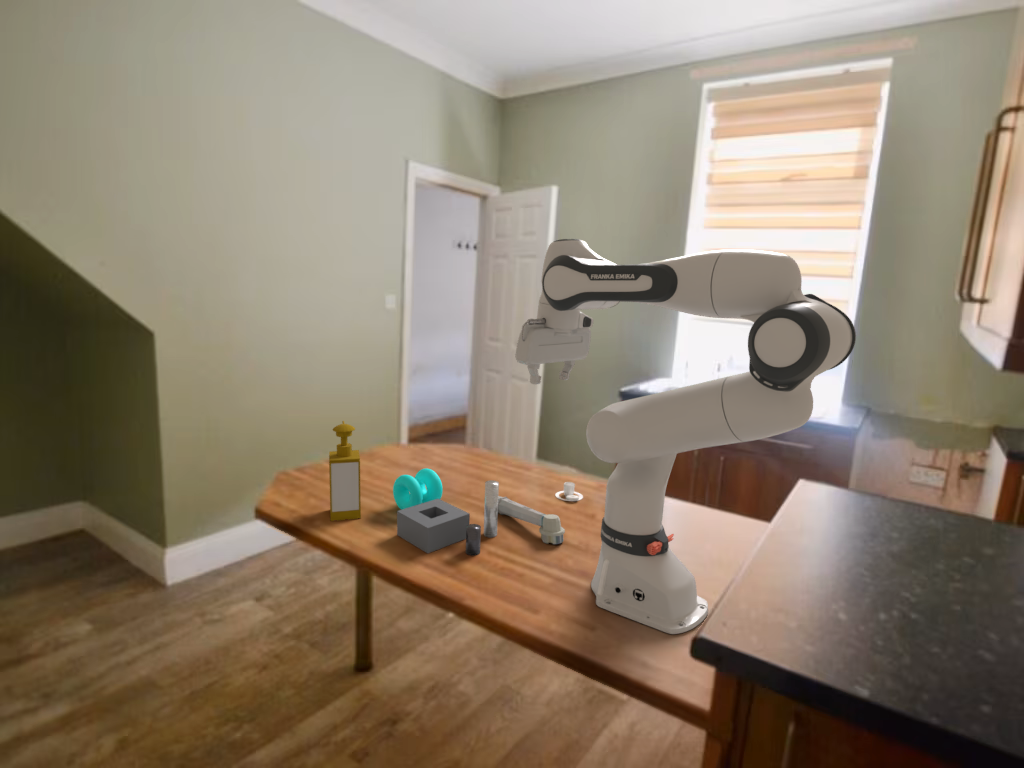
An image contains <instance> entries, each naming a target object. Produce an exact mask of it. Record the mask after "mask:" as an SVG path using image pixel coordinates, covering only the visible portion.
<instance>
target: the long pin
mask: <svg viewBox="0 0 1024 768" xmlns="http://www.w3.org/2000/svg"><path fill="white" fill-rule="evenodd" d="M499 486H500V483H499V481H498V480H487V481H485V483H484V509H483V510H484V513H483V514H484V515H483V536H484V537H487V538H495V537H496V536H497V535H498V522H499V521H498V515H499V512H498V496H499V493H500V492H499V491H500V490H499V488H500V487H499Z"/></svg>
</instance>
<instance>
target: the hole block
mask: <svg viewBox="0 0 1024 768" xmlns="http://www.w3.org/2000/svg"><path fill="white" fill-rule="evenodd" d="M470 516H471V515H470V513H469V512H467V511H465V510H463V509H461V508H459V507H457V506H454V505H452V504H451V503H448V502H447V501H444V500H443V499H435V500H432V501H428V502H425V503H422V504H419V505H415V506H412V507H409V508H405V509H402V510H401V509H399V510H397V511H396V523H397V524H396V535H397V536H398V537H399V538H402V539H403V540H405V541H406V542H408V543H410V544H412V545H413V546H415V547H416V548H418V549H419V550H421V551H423V552H425V553H426V554H430V553H432V552H435V551H437V550H440V549H443V548H445V547H449V546H451V545H454V544H456V543H459V542H461V541H463V540H466V526H467V525H469V524H470V520H471V518H470Z"/></svg>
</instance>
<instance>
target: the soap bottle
mask: <svg viewBox="0 0 1024 768" xmlns="http://www.w3.org/2000/svg"><path fill="white" fill-rule="evenodd" d="M355 430H356V427H354V426H353V425H351V424H348V423H345V421H344V420H342V423H341V424H338V425H336V426H334V427H333V428H332V431H333V432H334V433H335V436H336V437H337V438H340V443H338V444H336V451H334V450H332V451H329V454H328V457H329V458H328V459H329V460H328V465H329V471H328V473H329V506H330V507H329V508H330V509H329V512H330V515H329V516H330V522H335V521H334V520H337V521H346V520H345V519H348V520H357V519H358V518H360V519H361V518H362V516H361V515H362V513H361V456H360V451H359V449H355V450H354V449H353V448H352V447H353V446H352V444H351V443H349V442H348V437H352V436H353V432H354V431H355ZM352 449H353V450H352Z"/></svg>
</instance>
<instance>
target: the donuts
mask: <svg viewBox="0 0 1024 768" xmlns="http://www.w3.org/2000/svg"><path fill="white" fill-rule="evenodd" d="M443 489H444V488H443V483H442V480H441V478H440V476H439V475H438V474H437V471H434V470H433V469H431V468H428V467H427V468H425V467H424V468H422V469H420V470H418V472H416V474H415V476H413V475H410V474H401V475H400V476H398V477H397V478H396V479H395V481H394V482H393V486H392V495H393V499H394V502H395V503H396V506H397V507H398V508H399V510H402V509H405V508H409V507H412V506H415V505H419V504H422V503H425V502H428V501H432V500H435V499H440V500H442V497H443V493H444V492H443Z"/></svg>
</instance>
